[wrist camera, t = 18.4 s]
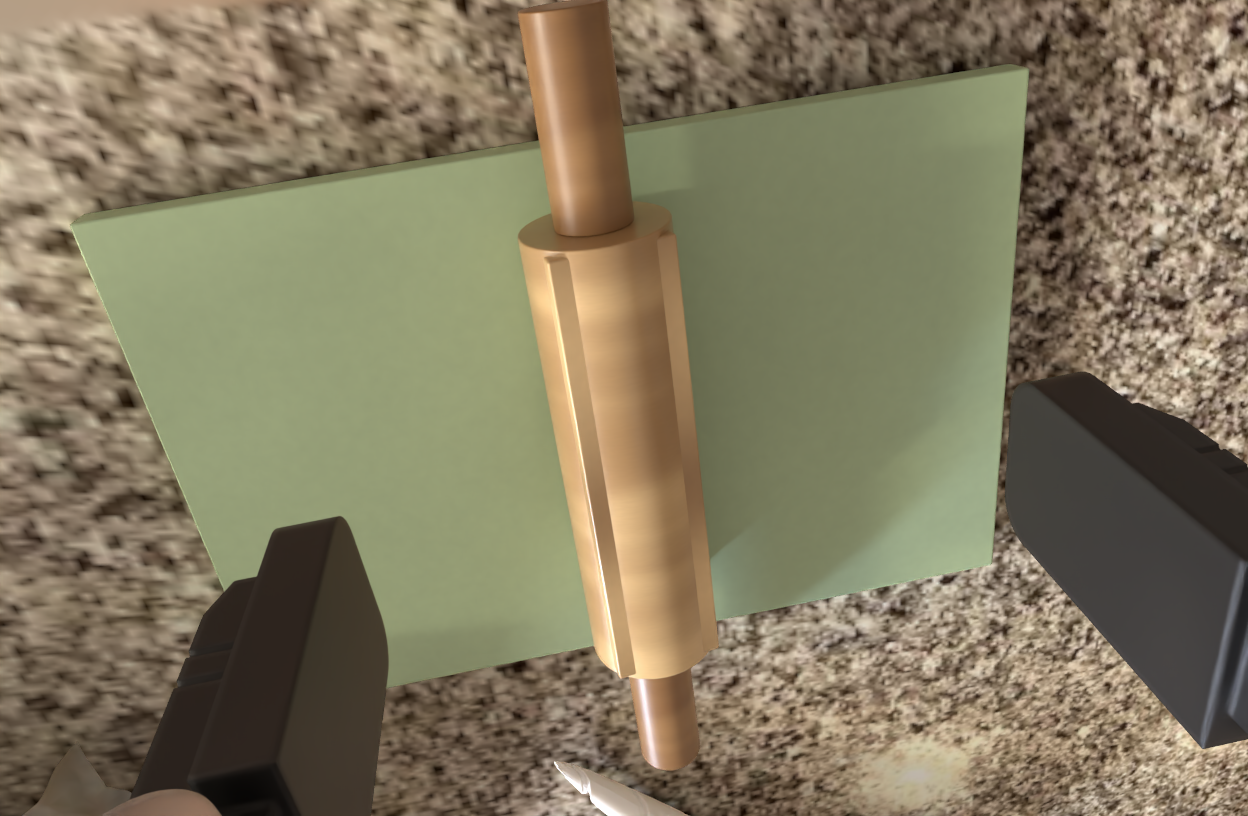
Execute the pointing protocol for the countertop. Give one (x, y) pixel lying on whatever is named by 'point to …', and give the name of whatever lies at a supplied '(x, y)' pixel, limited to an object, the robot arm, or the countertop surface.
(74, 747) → the white terrain model
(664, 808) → the unicorn horn
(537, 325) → the rolling pin
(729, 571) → the pastry board
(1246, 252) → the countertop surface
